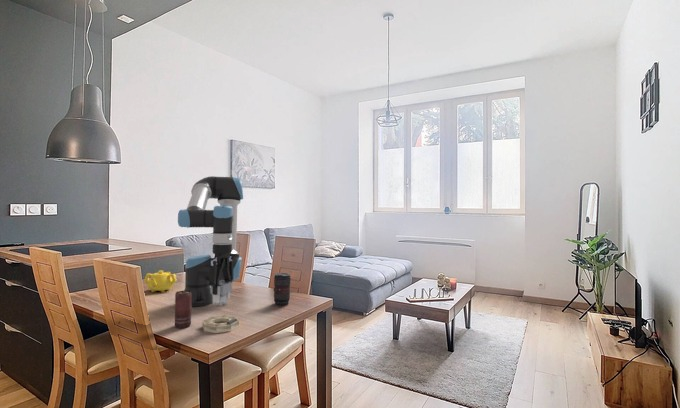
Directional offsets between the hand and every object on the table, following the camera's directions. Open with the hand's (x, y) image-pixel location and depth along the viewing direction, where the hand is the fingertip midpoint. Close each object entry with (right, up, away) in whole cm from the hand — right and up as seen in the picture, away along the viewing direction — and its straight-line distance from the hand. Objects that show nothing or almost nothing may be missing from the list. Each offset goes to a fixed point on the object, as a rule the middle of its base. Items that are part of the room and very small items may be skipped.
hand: (221, 300), depth 147 cm
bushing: (0, -2, 0) cm, 2 cm away
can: (-16, -11, 0) cm, 19 cm away
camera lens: (+19, -11, +34) cm, 41 cm away
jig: (0, -11, 0) cm, 11 cm away
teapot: (-52, -9, +55) cm, 76 cm away
